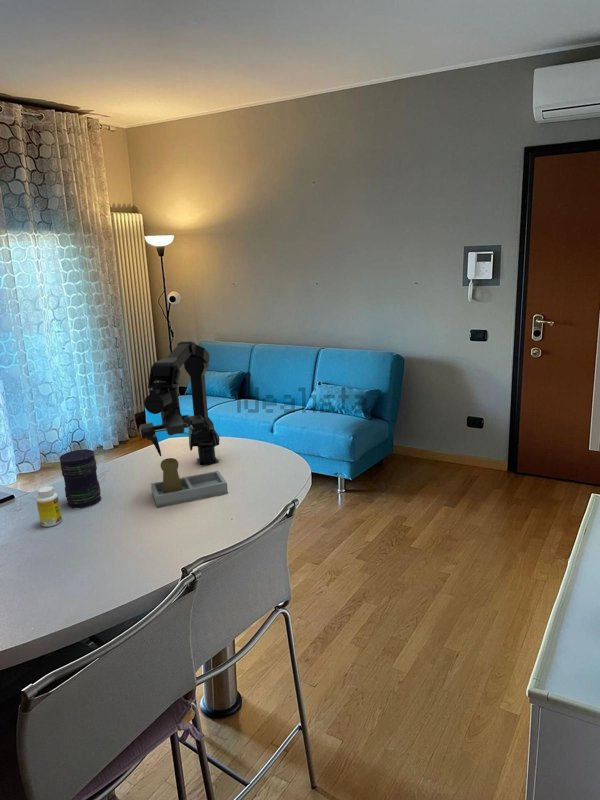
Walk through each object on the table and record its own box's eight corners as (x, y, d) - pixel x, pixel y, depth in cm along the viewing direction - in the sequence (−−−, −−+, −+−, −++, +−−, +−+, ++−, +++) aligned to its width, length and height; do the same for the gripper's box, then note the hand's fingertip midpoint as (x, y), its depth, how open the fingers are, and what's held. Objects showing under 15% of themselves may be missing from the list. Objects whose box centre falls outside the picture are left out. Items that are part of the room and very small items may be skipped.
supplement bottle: (60, 525, 160) (54, 491, 158) (39, 529, 159) (32, 494, 157) (63, 517, 166) (57, 483, 163) (42, 520, 164) (36, 486, 162)
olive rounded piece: (185, 489, 177) (181, 455, 174) (179, 498, 171) (175, 463, 168) (166, 489, 178) (162, 456, 175) (159, 498, 172) (155, 463, 169)
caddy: (152, 494, 178) (150, 483, 177) (219, 480, 185) (218, 470, 184) (157, 507, 168) (155, 496, 167) (227, 493, 175) (226, 482, 174)
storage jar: (60, 505, 174) (51, 458, 170) (85, 493, 182) (78, 447, 178) (83, 510, 169) (75, 462, 165) (108, 497, 177) (101, 451, 174)
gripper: (140, 416, 161) (147, 468, 165) (206, 405, 167) (212, 455, 171) (135, 406, 171) (143, 455, 175) (198, 396, 177) (204, 444, 181)
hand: (175, 453), depth 176 cm, fingers open, 9 cm apart
